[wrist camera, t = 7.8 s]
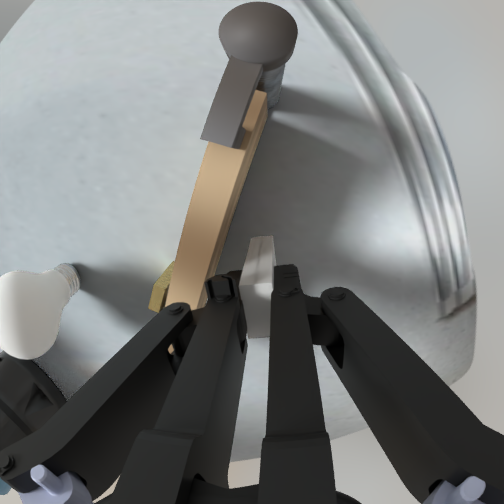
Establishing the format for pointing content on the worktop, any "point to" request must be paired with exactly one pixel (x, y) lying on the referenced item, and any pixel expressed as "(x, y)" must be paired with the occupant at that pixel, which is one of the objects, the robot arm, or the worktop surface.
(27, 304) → the light bulb
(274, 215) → the worktop surface
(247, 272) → the robot arm
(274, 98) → the gate frame
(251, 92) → the gate
